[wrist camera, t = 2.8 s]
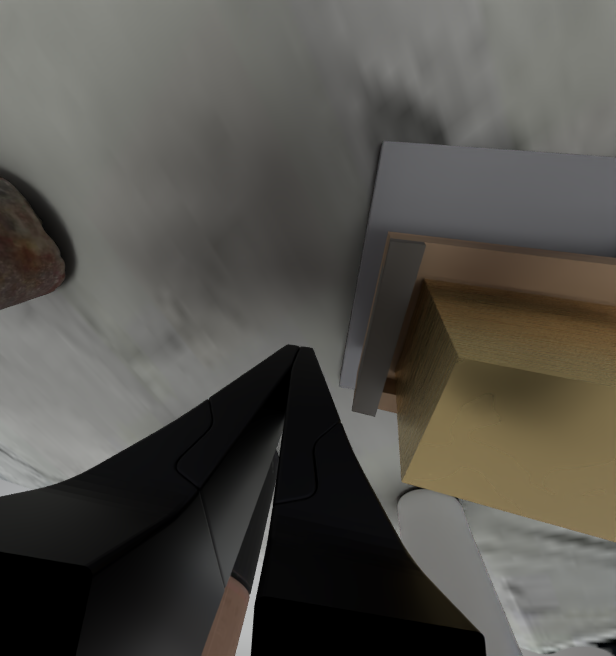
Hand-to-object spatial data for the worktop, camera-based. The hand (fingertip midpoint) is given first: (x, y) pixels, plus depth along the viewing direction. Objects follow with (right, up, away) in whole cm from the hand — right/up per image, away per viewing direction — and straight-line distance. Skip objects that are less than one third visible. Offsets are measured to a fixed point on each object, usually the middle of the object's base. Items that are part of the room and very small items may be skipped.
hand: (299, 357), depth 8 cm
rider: (+7, 0, +1) cm, 7 cm away
